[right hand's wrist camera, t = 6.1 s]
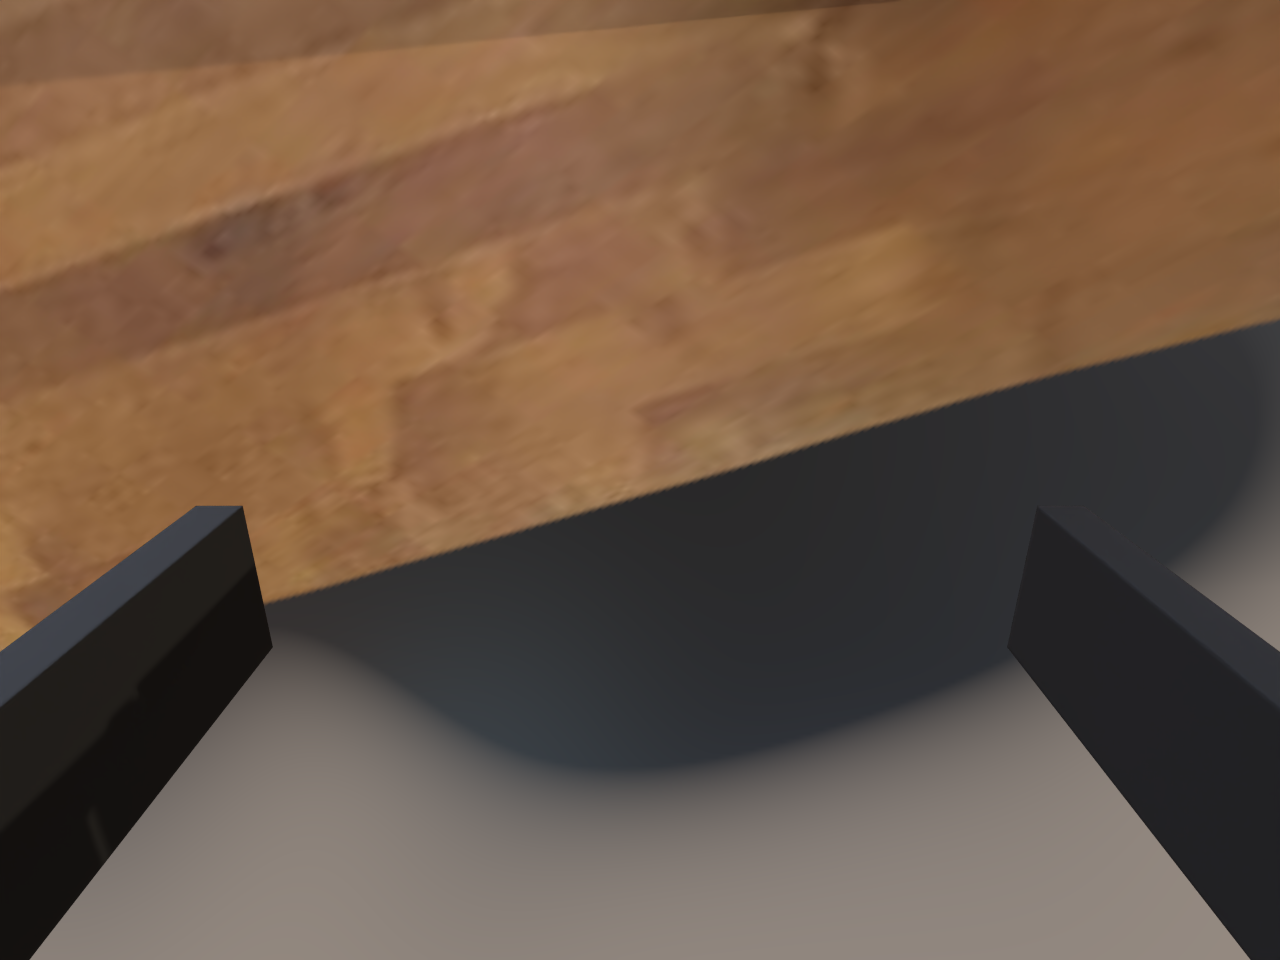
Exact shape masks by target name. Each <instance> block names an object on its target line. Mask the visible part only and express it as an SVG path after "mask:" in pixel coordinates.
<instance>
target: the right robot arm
mask: <svg viewBox="0 0 1280 960" xmlns="http://www.w3.org/2000/svg"><path fill="white" fill-rule="evenodd" d="M272 647H273V646H272V641H271V637H270V632H269V627H268V623H267V618H266V613H265V609H264V604H263V599H262V595H261V590H260V585H259V581H258V576H257V571H256V567H255V562H254V557H253V553H252V548H251V543H250V538H249V534H248V529H247V524H246V520H245V515H244V510H243V506H195V507H194V508H193V509H191V510H190V511H189V512H187V513H186V514H185V515H183V516H182V517H181V518H179V519H178V520H177V521H175V522H174V523H173V524H171V525H170V526H169V527H167V528H166V529H165V530H163V531H162V532H161V533H159V534H158V535H156V536H155V537H154V538H152V539H151V540H150V541H148V542H147V543H146V544H144V545H143V546H142V547H140V548H139V549H138V550H136V551H135V552H134V553H132V554H131V555H130V556H128V557H127V558H126V559H124V560H123V561H122V562H120V563H119V564H118V565H116V566H115V567H114V568H112V569H111V570H109V571H108V572H107V573H105V574H104V575H103V576H101V577H100V578H99V579H97V580H96V581H95V582H93V583H92V584H91V585H89V586H88V587H87V588H85V589H84V590H83V591H81V592H80V593H79V594H77V595H76V596H75V597H73V598H72V599H71V600H69V601H68V602H67V603H65V604H64V605H63V606H61V607H60V608H58V609H57V610H56V611H54V612H53V613H52V614H50V615H49V616H48V617H46V618H45V619H44V620H42V621H41V622H40V623H38V624H37V625H36V626H34V627H33V628H32V629H30V630H29V631H28V632H26V633H25V634H24V635H22V636H21V637H20V638H18V639H17V640H16V641H14V642H13V643H11V644H10V645H9V646H7V647H6V648H5V649H3V650H2V651H1V652H0V960H30V958H31V957H32V956H33V954H34V953H35V952H36V951H37V949H38V948H39V947H40V945H41V944H42V943H43V942H44V940H45V939H46V938H47V936H48V935H49V934H50V933H51V931H52V930H53V929H54V927H55V926H56V925H57V924H58V922H59V921H60V920H61V918H62V917H63V916H64V915H65V913H66V912H67V911H68V909H69V908H70V907H71V906H72V904H73V903H74V902H75V900H76V899H77V898H78V897H79V895H80V894H81V893H82V891H83V890H84V889H85V888H86V886H87V885H88V884H89V882H90V881H91V880H92V879H93V877H94V876H95V875H96V873H97V872H98V871H99V870H100V868H101V867H102V866H103V865H104V863H105V862H106V861H107V859H108V858H109V857H110V856H111V854H112V853H113V852H114V850H115V849H116V848H117V847H118V845H119V844H120V843H121V841H122V840H123V839H124V838H125V836H126V835H127V834H128V832H129V831H130V830H131V828H132V827H133V826H134V825H135V823H136V822H137V821H138V820H139V818H140V817H141V816H142V814H143V813H144V812H145V811H146V809H147V808H148V807H149V805H150V804H151V803H152V802H153V800H154V799H155V798H156V796H157V795H158V794H159V792H160V791H161V790H162V789H163V787H164V786H165V785H166V784H167V782H168V781H169V780H170V778H171V777H172V776H173V774H174V773H175V772H176V771H177V769H178V768H179V767H180V766H181V764H182V763H183V762H184V760H185V759H186V758H187V757H188V755H189V754H190V753H191V751H192V750H193V749H194V747H195V746H196V745H197V744H198V742H199V741H200V740H201V739H202V737H203V736H204V735H205V733H206V732H207V731H208V730H209V728H210V727H211V726H212V724H213V723H214V722H215V721H216V719H217V718H218V717H219V715H220V714H221V713H222V712H223V710H224V709H225V708H226V707H227V705H228V704H229V703H230V701H231V700H232V699H233V697H234V696H235V695H236V694H237V692H238V691H239V690H240V688H241V687H242V686H243V685H244V683H245V682H246V681H247V680H248V678H249V677H250V676H251V674H252V673H253V672H254V671H255V669H256V668H257V667H258V665H259V664H260V663H261V661H262V660H263V659H264V658H265V656H266V655H267V654H268V653H269V651H270V650H271V649H272ZM1007 647H1008V649H1009V650H1010V651H1011V652H1012V654H1013V655H1014V656H1015V658H1016V659H1017V660H1018V662H1019V663H1020V664H1021V665H1022V667H1023V668H1024V669H1025V671H1026V672H1027V673H1028V674H1029V676H1030V677H1031V678H1032V680H1033V681H1034V682H1035V683H1036V685H1037V686H1038V687H1039V689H1040V690H1041V691H1042V692H1043V694H1044V695H1045V696H1046V697H1047V699H1048V700H1049V701H1050V703H1051V704H1052V705H1053V706H1054V708H1055V709H1056V710H1057V712H1058V713H1059V714H1060V715H1061V717H1062V718H1063V719H1064V721H1065V722H1066V723H1067V724H1068V726H1069V727H1070V728H1071V730H1072V731H1073V732H1074V733H1075V735H1076V736H1077V737H1078V739H1079V740H1080V741H1081V742H1082V744H1083V745H1084V746H1085V748H1086V749H1087V750H1088V751H1089V753H1090V754H1091V755H1092V757H1093V758H1094V759H1095V760H1096V762H1097V763H1098V764H1099V766H1100V767H1101V768H1102V769H1103V771H1104V772H1105V773H1106V775H1107V776H1108V777H1109V778H1110V780H1111V781H1112V782H1113V784H1114V785H1115V786H1116V787H1117V789H1118V790H1119V791H1120V793H1121V794H1122V795H1123V796H1124V798H1125V799H1126V800H1127V802H1128V803H1129V804H1130V805H1131V807H1132V808H1133V809H1134V811H1135V812H1136V813H1137V814H1138V816H1139V817H1140V818H1141V820H1142V821H1143V822H1144V823H1145V825H1146V826H1147V827H1148V829H1149V830H1150V831H1151V832H1152V834H1153V835H1154V836H1155V837H1156V839H1157V840H1158V841H1159V843H1160V844H1161V845H1162V846H1163V848H1164V849H1165V850H1166V852H1167V853H1168V854H1169V855H1170V857H1171V858H1172V859H1173V861H1174V862H1175V863H1176V865H1177V866H1178V867H1179V868H1180V870H1181V871H1182V872H1183V874H1184V875H1185V876H1186V877H1187V879H1188V880H1189V881H1190V882H1191V884H1192V885H1193V886H1194V888H1195V889H1196V890H1197V891H1198V893H1199V894H1200V895H1201V897H1202V898H1203V899H1204V900H1205V902H1206V903H1207V904H1208V906H1209V907H1210V908H1211V909H1212V911H1213V912H1214V913H1215V915H1216V916H1217V917H1218V918H1219V920H1220V921H1221V922H1222V924H1223V925H1224V926H1225V927H1226V929H1227V930H1228V931H1229V933H1230V934H1231V935H1232V936H1233V938H1234V939H1235V940H1236V942H1237V943H1238V944H1239V945H1240V947H1241V948H1242V949H1243V951H1244V952H1245V953H1246V954H1247V956H1248V957H1249V958H1250V960H1280V652H1279V651H1278V650H1276V649H1275V648H1274V647H1273V646H1271V645H1270V644H1268V643H1267V642H1266V641H1264V640H1263V639H1262V638H1260V637H1259V636H1258V635H1256V634H1255V633H1254V632H1252V631H1251V630H1250V629H1248V628H1247V627H1246V626H1244V625H1243V624H1242V623H1240V622H1239V621H1238V620H1236V619H1235V618H1234V617H1232V616H1231V615H1230V614H1228V613H1227V612H1226V611H1224V610H1223V609H1222V608H1220V607H1219V606H1217V605H1216V604H1215V603H1213V602H1212V601H1211V600H1209V599H1208V598H1207V597H1205V596H1204V595H1203V594H1201V593H1200V592H1199V591H1197V590H1196V589H1195V588H1193V587H1192V586H1191V585H1189V584H1188V583H1187V582H1185V581H1184V580H1183V579H1181V578H1180V577H1179V576H1177V575H1176V574H1174V573H1173V572H1172V571H1170V570H1169V569H1168V568H1166V567H1165V566H1164V565H1162V564H1161V563H1160V562H1158V561H1157V560H1156V559H1154V558H1153V557H1152V556H1150V555H1149V554H1148V553H1146V552H1145V551H1144V550H1142V549H1141V548H1140V547H1138V546H1137V545H1136V544H1134V543H1133V542H1131V541H1130V540H1129V539H1127V538H1126V537H1125V536H1124V535H1122V534H1121V533H1119V532H1118V531H1117V530H1115V529H1114V528H1113V527H1111V526H1110V525H1109V524H1107V523H1106V522H1105V521H1103V520H1102V519H1101V518H1099V517H1098V516H1097V515H1095V514H1094V513H1093V512H1091V511H1090V510H1089V509H1087V508H1086V507H1085V506H1037V510H1036V515H1035V520H1034V524H1033V529H1032V534H1031V538H1030V543H1029V548H1028V553H1027V557H1026V562H1025V567H1024V571H1023V576H1022V581H1021V585H1020V590H1019V595H1018V599H1017V604H1016V609H1015V613H1014V618H1013V623H1012V627H1011V632H1010V637H1009V641H1008V646H1007Z"/></svg>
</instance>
